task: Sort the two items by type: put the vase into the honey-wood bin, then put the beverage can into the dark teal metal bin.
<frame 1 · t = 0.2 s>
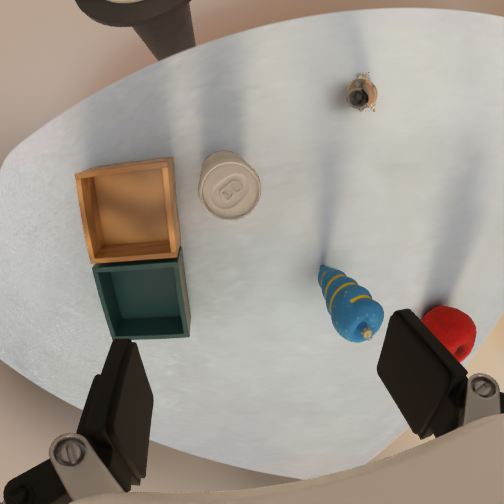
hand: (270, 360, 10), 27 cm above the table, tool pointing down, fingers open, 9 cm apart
ornament: (321, 267, 40), on the table
vase: (348, 95, 32), on the table
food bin: (134, 204, 34), on the table
apple: (429, 317, 47), on the table
can bin: (147, 285, 38), on the table
beverage can: (223, 170, 34), on the table
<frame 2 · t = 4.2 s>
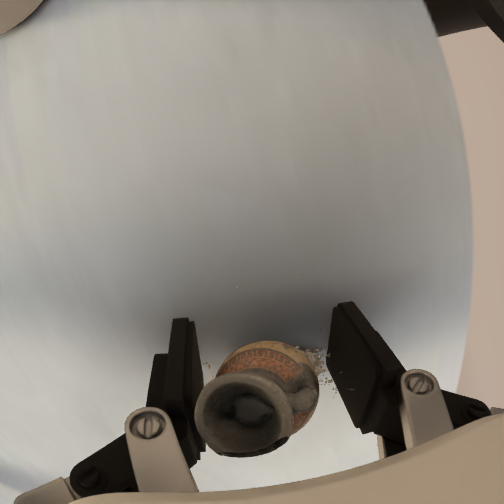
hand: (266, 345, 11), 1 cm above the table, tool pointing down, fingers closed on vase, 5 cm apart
vase: (249, 330, 12), on the table, touching gripper
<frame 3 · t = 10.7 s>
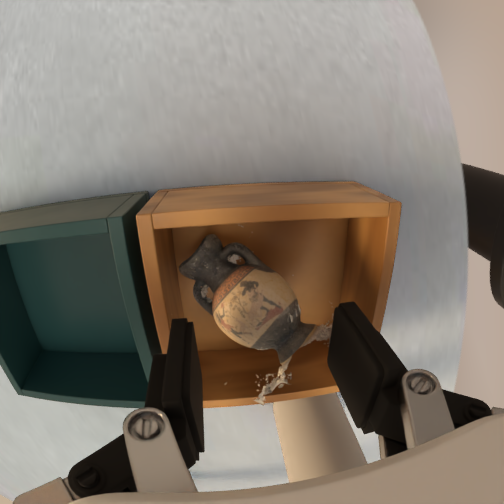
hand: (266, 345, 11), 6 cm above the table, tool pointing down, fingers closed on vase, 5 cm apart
vase: (288, 338, 15), point 3 cm above the table, touching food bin, gripper
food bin: (262, 275, 17), on the table
can bin: (80, 286, 16), on the table
beverage can: (303, 395, 21), on the table
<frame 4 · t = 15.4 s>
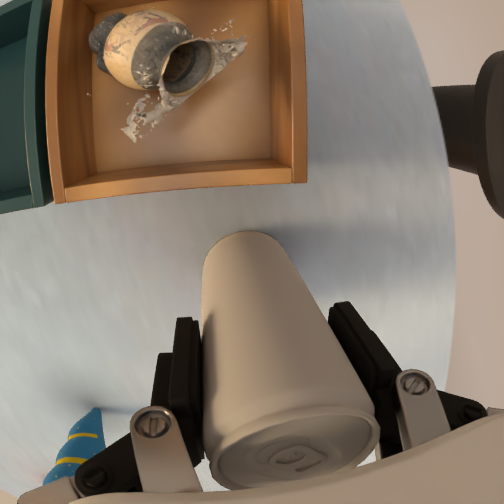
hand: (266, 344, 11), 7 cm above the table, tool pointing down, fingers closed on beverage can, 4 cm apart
ornament: (95, 407, 21), on the table
vase: (193, 107, 11), point 3 cm above the table, touching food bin
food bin: (179, 77, 13), on the table
can bin: (7, 115, 12), on the table
beverage can: (245, 266, 18), on the table, touching gripper
when the fingers open (7 cm above the table, at t = 22.0 s): beverage can stays where it is, resting on can bin.
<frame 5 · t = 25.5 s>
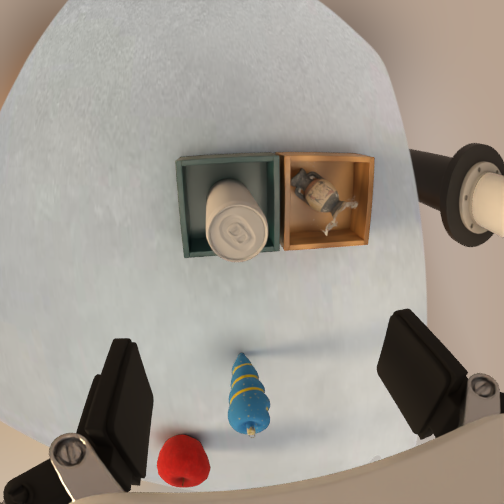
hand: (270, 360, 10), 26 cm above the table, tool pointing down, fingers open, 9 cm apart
ornament: (239, 353, 43), on the table
vase: (332, 216, 34), point 3 cm above the table, touching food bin
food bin: (316, 194, 36), on the table
apple: (183, 438, 50), on the table
can bin: (227, 197, 35), on the table
beverage can: (228, 198, 34), resting on can bin
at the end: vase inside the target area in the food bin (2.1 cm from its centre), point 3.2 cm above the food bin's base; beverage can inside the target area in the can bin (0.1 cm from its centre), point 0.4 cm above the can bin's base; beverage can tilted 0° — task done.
